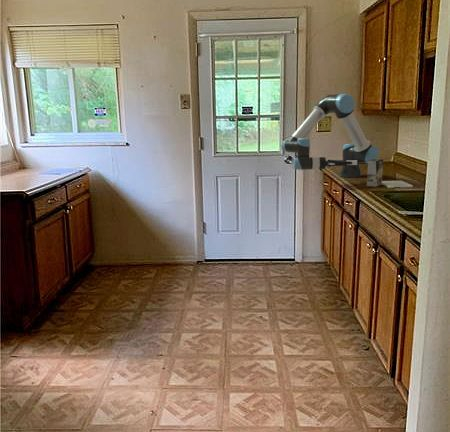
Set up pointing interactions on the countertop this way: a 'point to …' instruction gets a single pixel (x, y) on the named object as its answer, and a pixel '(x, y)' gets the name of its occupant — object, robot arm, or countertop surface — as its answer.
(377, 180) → the coffee box
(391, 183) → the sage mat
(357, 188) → the countertop surface
